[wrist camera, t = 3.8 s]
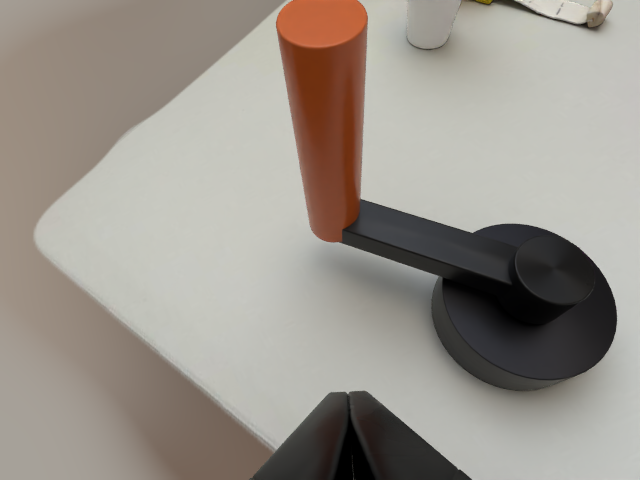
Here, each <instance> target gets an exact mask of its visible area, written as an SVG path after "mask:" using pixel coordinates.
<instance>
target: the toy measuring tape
mask: <svg viewBox="0 0 640 480" xmlns="http://www.w3.org/2000/svg"><path fill="white" fill-rule="evenodd" d="M475 1H479V2H482V3H485V4H490V3H491V2H492V1H493V0H475ZM514 1H516V2H519V3H521V4H522V5H524V6H526V7H528V8H530V9H532V10H534V11H536V12H537V14H539V13H540V14H542V15H544V16H547V17H549V18H552V19H557V20H563V21H567V22H569V23H574V24H583V23H586V22H587V23H588V27H594V26H598V25H600V24H601V23H603V21H604V20H605V18H606V16H607V15H608V13H609V12H610V10H611V9H612V6H613V3H612V1H611V0H597V1H595V2H594V4H593V5H592V7H587V6H582V5H581V4H577V3H575V2H570V1H566V0H514Z"/></svg>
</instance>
